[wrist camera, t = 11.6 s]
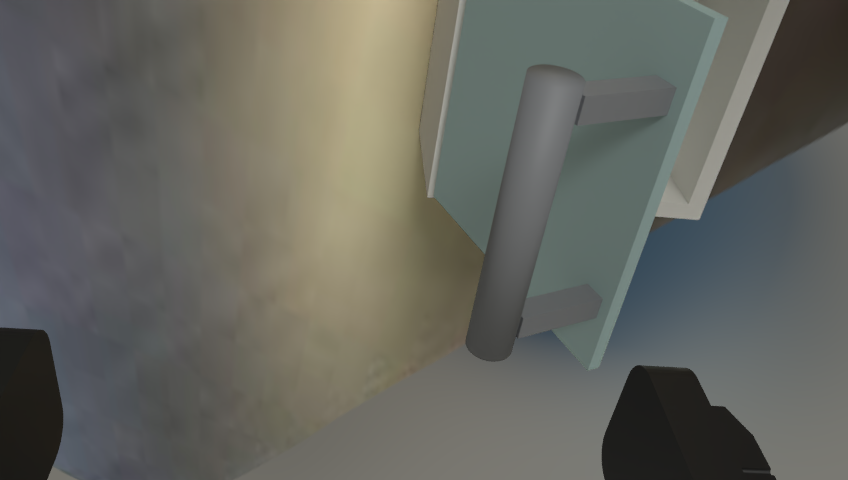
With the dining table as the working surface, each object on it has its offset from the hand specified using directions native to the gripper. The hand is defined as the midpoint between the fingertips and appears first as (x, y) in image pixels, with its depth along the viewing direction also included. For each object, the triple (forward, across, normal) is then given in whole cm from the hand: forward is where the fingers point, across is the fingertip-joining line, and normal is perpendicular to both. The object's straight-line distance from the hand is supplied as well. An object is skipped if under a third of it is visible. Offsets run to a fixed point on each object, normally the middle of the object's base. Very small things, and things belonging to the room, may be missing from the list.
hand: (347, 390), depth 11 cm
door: (+21, -9, +6) cm, 24 cm away
